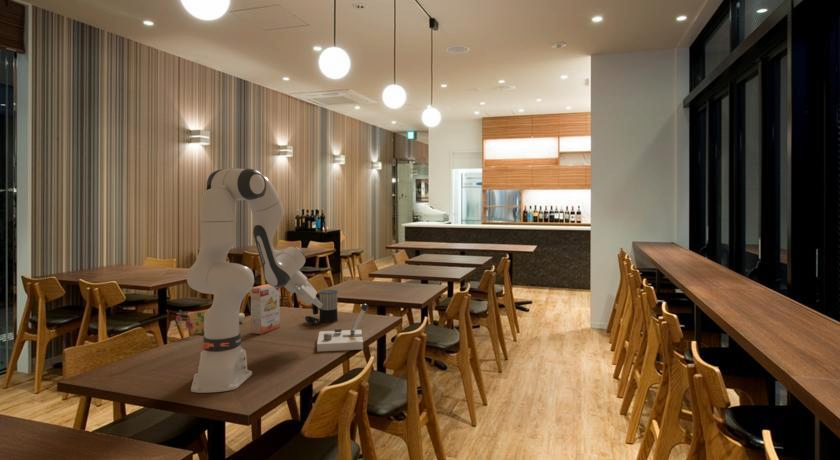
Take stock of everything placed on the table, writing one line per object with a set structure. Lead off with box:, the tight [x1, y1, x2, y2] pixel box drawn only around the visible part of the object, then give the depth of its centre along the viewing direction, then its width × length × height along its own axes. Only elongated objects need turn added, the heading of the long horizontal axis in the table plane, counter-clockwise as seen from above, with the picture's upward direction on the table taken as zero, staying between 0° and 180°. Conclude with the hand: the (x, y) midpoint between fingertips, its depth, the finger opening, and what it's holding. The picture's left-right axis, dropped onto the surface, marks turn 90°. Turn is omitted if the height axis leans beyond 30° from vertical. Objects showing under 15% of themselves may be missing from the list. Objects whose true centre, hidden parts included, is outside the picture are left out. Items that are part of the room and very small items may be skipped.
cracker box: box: [250, 283, 281, 335], centre depth 239 cm, size 14×6×21 cm, turn 159°
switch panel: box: [316, 329, 364, 352], centre depth 216 cm, size 20×18×3 cm
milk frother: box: [304, 289, 339, 326], centre depth 254 cm, size 14×16×15 cm
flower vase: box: [174, 309, 246, 334], centre depth 240 cm, size 12×12×35 cm
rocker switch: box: [333, 328, 342, 332], centre depth 220 cm, size 4×3×1 cm, turn 8°
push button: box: [324, 333, 332, 340], centre depth 211 cm, size 3×3×2 cm
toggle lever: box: [350, 303, 369, 335], centre depth 217 cm, size 3×3×14 cm
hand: (321, 306), depth 214 cm, fingers closed
